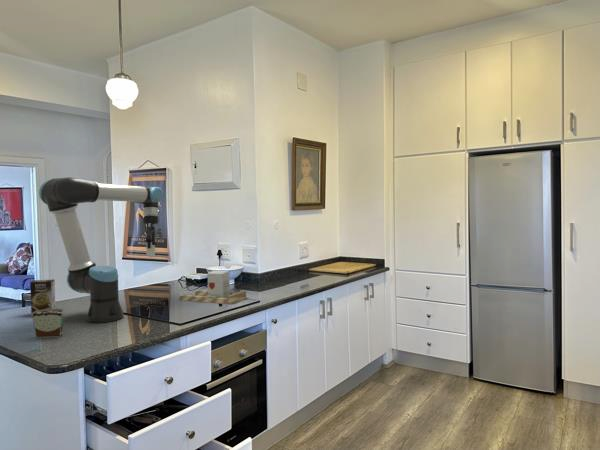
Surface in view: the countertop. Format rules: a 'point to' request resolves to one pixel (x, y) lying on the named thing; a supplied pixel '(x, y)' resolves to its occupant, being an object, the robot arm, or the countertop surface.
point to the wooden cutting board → (214, 297)
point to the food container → (48, 322)
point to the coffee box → (42, 295)
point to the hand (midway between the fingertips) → (150, 256)
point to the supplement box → (218, 284)
